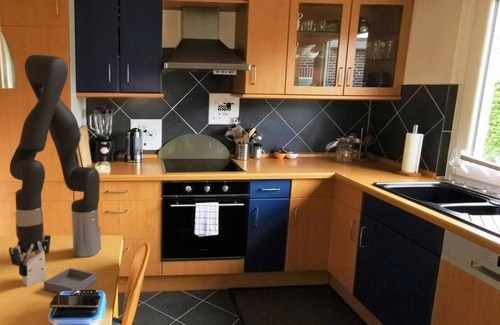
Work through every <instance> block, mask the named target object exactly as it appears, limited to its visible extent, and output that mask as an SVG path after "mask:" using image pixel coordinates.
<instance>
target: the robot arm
mask: <svg viewBox="0 0 500 325" xmlns="http://www.w3.org/2000/svg"><path fill="white" fill-rule="evenodd" d="M68 70H69V69H68V65H67V63H66V61H65V60H64V59H63V58H62V57H59V56H55V55H45V54H31V55H29V56H28V57H27V58H26V60H25V62H24V72H25V76H26V79H27V80H28V82H29V85H30V86H31V89H32V91H33V93H34V95H35V97H36V100H37V102H36V104H35V106H33V108H32V109H31V110H30V112H29V113H28V114H27V116H26V118H25V119H24V122H23V124H22V125H23V126H22V130H21V133H20V140H19V143H18V146H17V147H16V149H15V151H14V154H12V158H11V160H10V163H9V172H10V175H11V176H12V177H13V179H15V180H17V181H21V182H22V183H21V188H19V189H18V190H17V191H16V192H15V229H16V230H15V232H16V233H15V234H16V238H17V240H18V242H17V245H15V246H14V247H9V248H8V252H9V256H10V262H11V264H12V265H13V266H18V270H19V271H18V273H19V275H20V276H21V277H22V276H24V277H25V276H27V275H28V274H27V265H26V264H27V261H29V259H30V258H31V255H32V254H33V253H34V254H35V255H36V254H37V253H38V252H42V251H43V250H44V251H45V255H47V254H49V253H50V247H51V239H52V238H51V235H48V234H44V233H45V230H44V211H43V207H42V206H43V205H42V191H43V188H44V184H45V178H46V170H45V167H44V165H43V163H42V162H41V161H39V160H37V159H36V156H37V154H38V153H40V152H43V151H44V150H45V148H46V144H47V141H48V140H47V139H48V135H49V134H50V136H51V139H52V142H53V144H54V146H55V150H56V153H57V156H58V159H59V163H60V167H61V171H62V176H63V180H64V183H65V185H66V187H67V188H68V190H70V191H72V192H78V193H79V192H80V193H83V197H82V198H80V199H79V198H78V199H76V200H74V201H73V202H71V226H72V228H71V229H72V250H73V252H72V253H73V255H74V256H76V257H78V258H79V257H80V258H86V257H92V256H95V255H97V254H98V253H99V252H100V250H102V243H101V242H102V240H101V239H102V238H101V226H100V225H99V202H100V201H99V200H100V185H101V184H100V172H99V171H98V170H97V169H96V167H95V168H94V167H86V166H79V165H78V162H77V158H76V153H77V150H78V147H79V145H80V142H81V140H82V139H81V137H82V133H81V129H80V127H79V124H78V121H77V117H76V116H75V114H74V113H73V112H72V110H71V109H70V108H69V106H67V105H66V104H65V103H64V101H63V100H62V99H61V98H60V97H61V96H62V93H63V91H64V88H65V85H66V83H67V78H68V74H69V73H68V72H69V71H68Z"/></svg>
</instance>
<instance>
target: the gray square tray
mask: <svg viewBox="0 0 500 325" xmlns="http://www.w3.org/2000/svg"><path fill="white" fill-rule="evenodd" d="M97 280H98V279H97V273H95V272H90V271H86V270H81V269H77V268H72V267H68V268H67V269H65V270H63V271H62V272H61V271H60V272H59V273H57V274H55V275H53V276H52V277H49V278H48V279H46V280H45V281H43V288H44V291H45V292H48V293H52V294H55V295H60V294H59V293H60V292H62V291H75V290H83V291H85V290H87V289H88V288H90V287H91V286H93V285H94V284H96V283H97Z"/></svg>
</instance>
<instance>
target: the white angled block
mask: <svg viewBox="0 0 500 325" xmlns="http://www.w3.org/2000/svg"><path fill="white" fill-rule="evenodd" d="M45 256H46V254H45V251H44V250H43V251H42V252H38V253H37V254H35V255H34V256H33V257H30V258H29V259H28V260H27V264H26V265H27V274H28V275H27V276H25V277H24V276H21V280H22V283H23V285H25V286H26V287H30V286H34V285H36V284H39V283H42V282H44V281H46V280H47V273H46V257H45Z"/></svg>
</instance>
